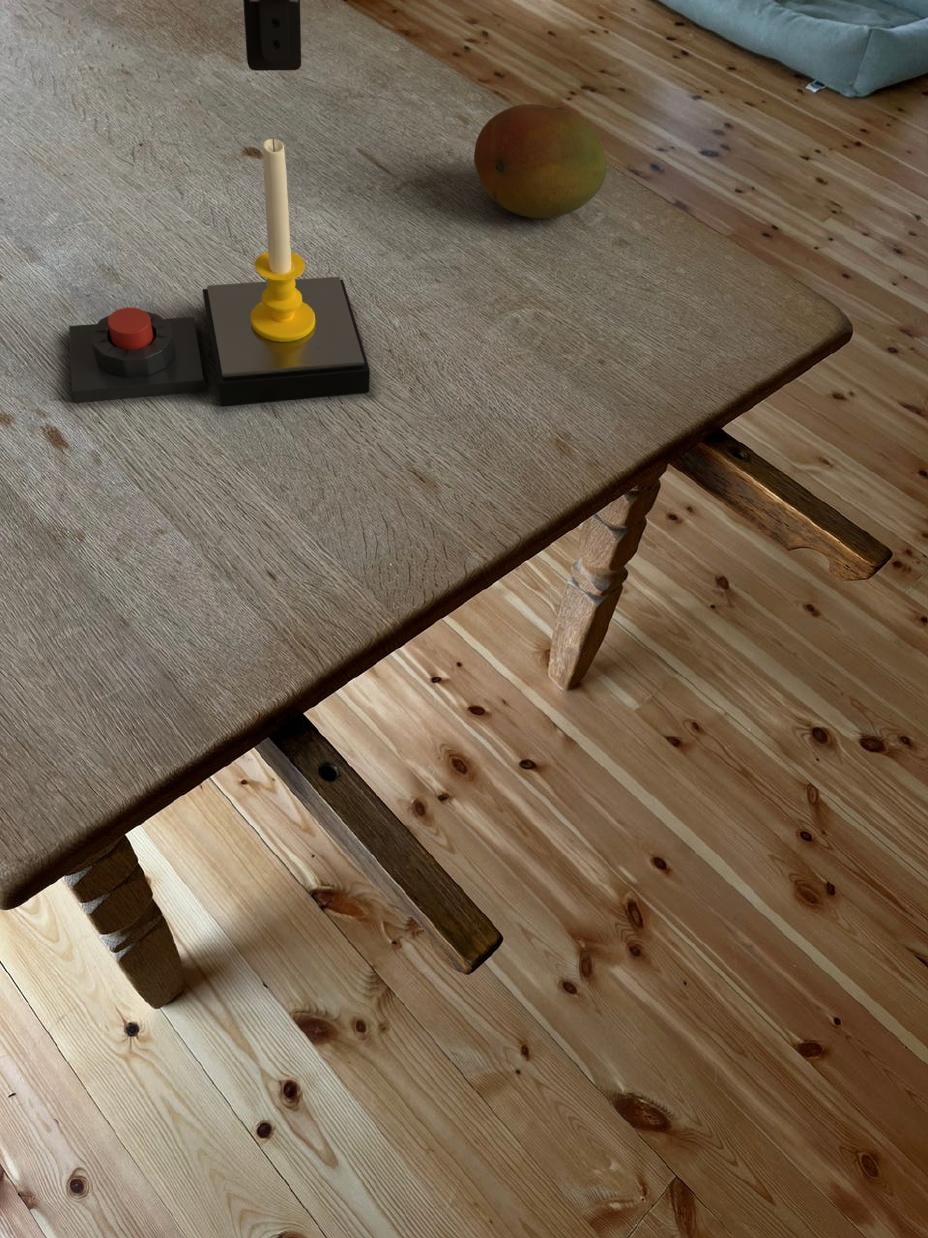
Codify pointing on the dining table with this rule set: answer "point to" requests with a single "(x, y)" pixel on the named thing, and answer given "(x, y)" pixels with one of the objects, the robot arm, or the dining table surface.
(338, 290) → the scale
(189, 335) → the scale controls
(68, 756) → the dining table surface
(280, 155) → the candle
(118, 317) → the button
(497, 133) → the fruit
